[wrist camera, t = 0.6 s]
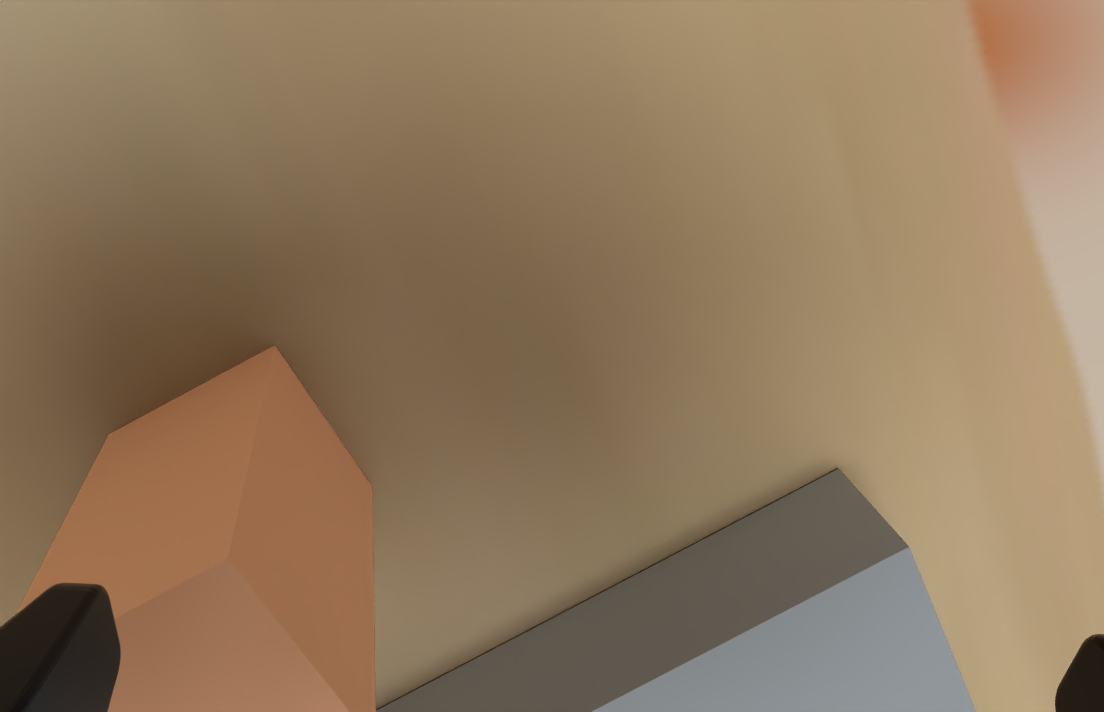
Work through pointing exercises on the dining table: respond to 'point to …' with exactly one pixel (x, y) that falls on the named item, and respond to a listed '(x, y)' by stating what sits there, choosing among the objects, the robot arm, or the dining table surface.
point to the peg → (229, 552)
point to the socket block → (736, 628)
